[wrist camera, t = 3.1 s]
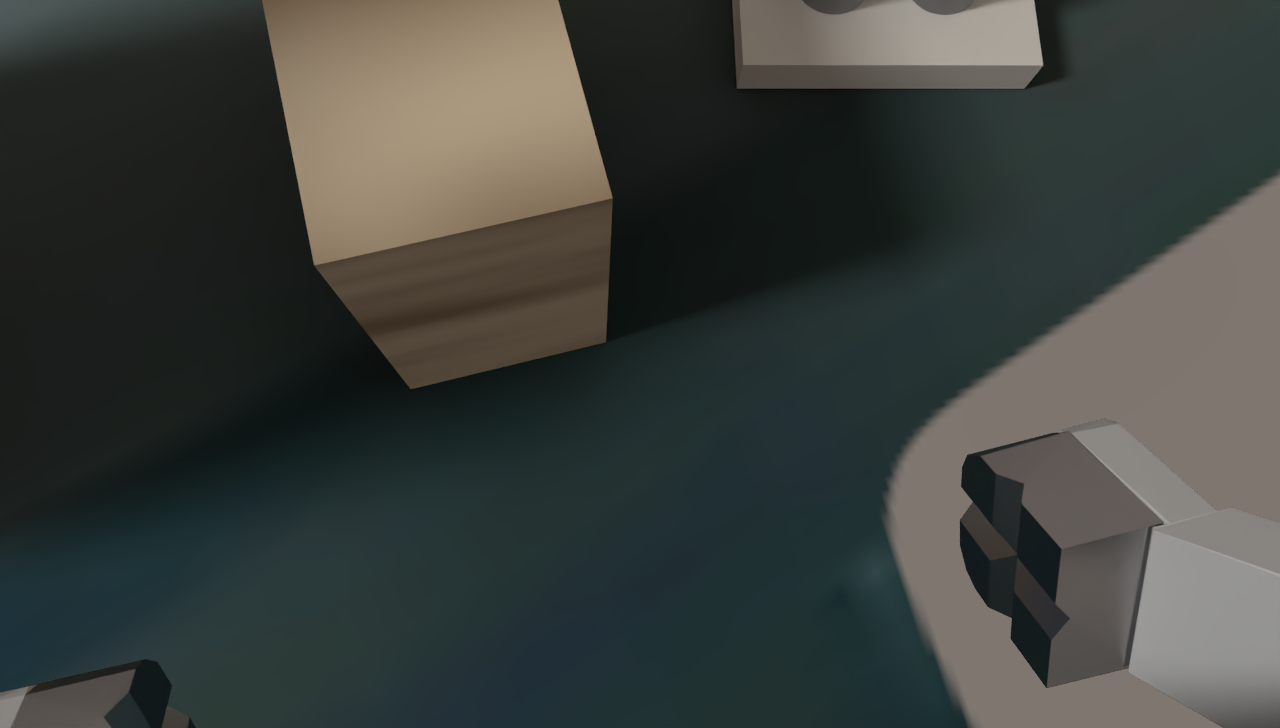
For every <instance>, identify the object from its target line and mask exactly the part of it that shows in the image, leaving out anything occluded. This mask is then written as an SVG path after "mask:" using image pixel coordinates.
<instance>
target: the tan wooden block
mask: <svg viewBox="0 0 1280 728" xmlns="http://www.w3.org/2000/svg"><path fill="white" fill-rule="evenodd" d="M262 2H263V8H264V13H265V18H266V23H267V28H268V33H269V38H270V43H271V48H272V53H273V58H274V64H275V69H276V74H277V79H278V84H279V89H280V94H281V99H282V104H283V109H284V114H285V119H286V125H287V130H288V135H289V140H290V145H291V150H292V155H293V160H294V165H295V170H296V175H297V181H298V186H299V191H300V196H301V201H302V206H303V211H304V216H305V221H306V226H307V231H308V236H309V242H310V247H311V252H312V257H313V262H314V266H315V267H316V268H317V270H318V271H319V272H320V274H321V275H322V276H323V277H324V279H325V280H326V281H327V283H328V284H329V285H330V286H331V288H332V289H333V290H334V292H335V293H336V294H337V295H338V297H339V298H340V299H341V301H342V302H343V303H344V304H345V306H346V307H347V308H348V309H349V311H350V312H351V313H352V315H353V316H354V317H355V318H356V320H357V321H358V322H359V324H360V325H361V326H362V327H363V329H364V330H365V331H366V333H367V334H368V335H369V336H370V338H371V339H372V340H373V342H374V343H375V344H376V345H377V347H378V348H379V349H380V351H381V352H382V353H383V354H384V356H385V357H386V358H387V359H388V361H389V362H390V363H391V365H392V366H393V367H394V368H395V370H396V371H397V372H398V374H399V375H400V376H401V377H402V379H403V380H404V381H405V383H406V384H407V385H408V386H409V388H410V389H414V388H418V387H422V386H426V385H431V384H435V383H439V382H443V381H447V380H451V379H456V378H460V377H464V376H468V375H472V374H476V373H480V372H485V371H489V370H493V369H497V368H501V367H505V366H509V365H514V364H518V363H522V362H526V361H530V360H534V359H539V358H543V357H547V356H551V355H555V354H559V353H563V352H568V351H572V350H576V349H580V348H584V347H588V346H592V345H597V344H601V343H605V342H606V330H607V309H608V288H609V267H610V246H611V224H612V203H613V197H612V194H611V190H610V187H609V183H608V179H607V176H606V172H605V168H604V165H603V161H602V158H601V154H600V150H599V147H598V143H597V139H596V136H595V132H594V128H593V125H592V121H591V118H590V114H589V110H588V107H587V103H586V99H585V96H584V92H583V89H582V85H581V81H580V78H579V74H578V70H577V67H576V63H575V60H574V56H573V52H572V49H571V45H570V41H569V38H568V34H567V30H566V27H565V23H564V20H563V16H562V12H561V9H560V5H559V1H558V0H262Z"/></svg>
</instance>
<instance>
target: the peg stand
mask: <svg viewBox="0 0 1280 728" xmlns="http://www.w3.org/2000/svg"><path fill="white" fill-rule="evenodd" d="M732 8H733V27H734V45H735V64H736V82H737V89H1025V87H1026V86H1027V85H1028V84H1029V82H1030V81H1031V80H1032V79H1033V78H1034V76H1035V75H1036V74H1037V73H1038V71H1039V70H1040V69H1041V68H1042V66H1043V60H1042V53H1041V46H1040V39H1039V32H1038V24H1037V17H1036V10H1035V3H1034V0H732Z"/></svg>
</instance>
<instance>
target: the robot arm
mask: <svg viewBox="0 0 1280 728" xmlns="http://www.w3.org/2000/svg"><path fill="white" fill-rule="evenodd" d="M961 487H962V488H963V490H964V491H965V492H966V493H967V495H968V496H969V497H970V498H971V500H972V501H973V503H972V504H971V505H970V507H969V508H968V510H967V511H966V512H965V514H964V515H963V517H962V518H961V519H960V547H961V551H962V554H963V558H964V562H965V566H966V570H967V572H968V574H969V576H970V579H971V581H972V583H973V585H974V587H975V589H976V590H977V592H978V593H979V595H980V596H981V597H982V599H983V600H984V602H985V603H986V605H987V606H988V607H989V608H991V609H993V610H996V611H998V612H1000V613H1002V614H1004V615H1006V616H1009V617H1011V618H1012V626H1011V640H1012V641H1013V643H1014V644H1015V645H1016V647H1017V648H1018V649H1019V651H1020V652H1021V653H1022V655H1023V656H1024V658H1025V659H1026V660H1027V662H1028V663H1029V664H1030V666H1031V667H1032V669H1033V670H1034V671H1035V673H1036V674H1037V676H1038V677H1039V678H1040V680H1041V681H1042V682H1043V684H1044V685H1045V687H1046V688H1049V687H1053V686H1058V685H1062V684H1065V683H1069V682H1074V681H1078V680H1082V679H1086V678H1090V677H1094V676H1097V675H1102V674H1106V673H1110V672H1114V671H1118V670H1122V669H1126V668H1129V670H1128V673H1130V674H1132V675H1133V676H1135V677H1137V678H1139V679H1140V680H1142V681H1144V682H1145V683H1147V684H1149V685H1151V686H1152V687H1154V688H1156V689H1157V690H1159V691H1161V692H1163V693H1164V694H1166V695H1168V696H1170V697H1172V698H1173V699H1175V700H1176V701H1178V702H1180V703H1182V704H1183V705H1185V706H1187V707H1189V708H1190V709H1192V710H1194V711H1195V712H1197V713H1199V714H1201V715H1202V716H1204V717H1206V718H1207V719H1209V720H1211V721H1213V722H1214V723H1216V724H1218V725H1220V726H1221V727H1223V728H1280V523H1278V522H1275V521H1272V520H1269V519H1266V518H1263V517H1260V516H1257V515H1254V514H1251V513H1248V512H1245V511H1242V510H1239V509H1235V508H1232V507H1231V508H1227V509H1223V510H1219V511H1217V510H1216V509H1215V508H1214V507H1213V506H1212V505H1210V504H1209V503H1208V502H1207V501H1206V500H1205V499H1204V498H1203V497H1201V496H1200V495H1199V494H1198V493H1197V492H1196V491H1195V490H1193V489H1192V488H1191V487H1190V486H1189V485H1188V484H1187V483H1185V482H1184V481H1183V480H1182V479H1181V478H1180V477H1179V476H1177V475H1176V474H1175V473H1174V472H1173V471H1172V470H1171V469H1169V468H1168V467H1167V466H1166V465H1165V464H1164V463H1163V462H1162V461H1160V460H1159V459H1158V458H1157V457H1156V456H1155V455H1154V454H1152V453H1151V452H1150V451H1149V450H1148V449H1147V448H1145V447H1144V446H1143V445H1142V444H1141V443H1140V442H1139V441H1138V440H1136V439H1135V438H1134V437H1133V436H1132V435H1131V434H1130V433H1129V432H1127V431H1126V430H1125V429H1124V428H1123V427H1122V426H1121V425H1119V424H1118V423H1116V422H1114V421H1111V420H1108V419H1105V418H1104V419H1100V420H1096V421H1093V422H1089V423H1085V424H1081V425H1078V426H1074V427H1070V428H1067V429H1063V430H1059V432H1058V433H1051V434H1047V435H1043V436H1039V437H1035V438H1031V439H1028V440H1024V441H1020V442H1016V443H1012V444H1008V445H1004V446H1000V447H997V448H993V449H988V450H985V451H981V452H977V453H973V454H969V455H967V457H966V459H965V462H964V464H963V467H962V482H961ZM171 687H172V685H171V683H170V681H169V680H168V678H167V677H166V675H165V673H164V672H163V670H162V669H161V667H160V665H159V664H158V662H156V661H151V660H146V659H144V660H139V661H135V662H130V663H126V664H121V665H117V666H113V667H108V668H104V669H99V670H95V671H90V672H86V673H81V674H77V675H73V676H68V677H64V678H59V679H55V680H50V681H46V682H41V683H38V684H37V685H35V686H29V687H24V688H20V689H15V690H11V691H6V692H2V693H0V728H195V726H194V724H193V722H192V720H191V718H190V717H189V716H187V715H184V714H182V713H180V712H178V711H176V710H174V709H171V708H169V707H167V704H168V700H169V696H170V691H171Z"/></svg>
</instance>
